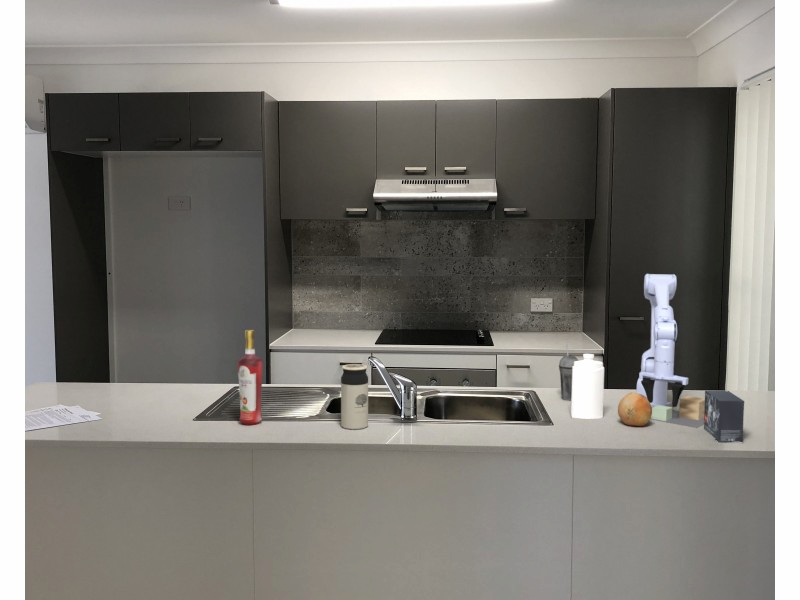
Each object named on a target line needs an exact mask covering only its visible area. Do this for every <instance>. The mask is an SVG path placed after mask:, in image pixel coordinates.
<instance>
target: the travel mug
mask: <svg viewBox="0 0 800 600" xmlns="http://www.w3.org/2000/svg"><path fill="white" fill-rule="evenodd" d="M341 369H342V372H343V373H342V375H341V377H340V379H341V380H340V426H341V427H342V428H344V429H347V430H362V429H363V430H364V429H366V428H367V427H368V426H369V375H368V374H367V369H368V366H367V365H366V364H362V363H361V364H360V363H359V364H358V363H351V364H345V365H342V367H341Z"/></svg>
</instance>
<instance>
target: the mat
mask: <svg viewBox="0 0 800 600" xmlns="http://www.w3.org/2000/svg"><path fill="white" fill-rule="evenodd" d="M649 421H654V422H655V421H657V422H662V423H665V424H666V423H668V424H673V425H677V426H684V427H689V428H695V429H698V428H701V427H702V426H704V418H702V419H700V420H695V419H689V418H683V417H679V410H676V409H675V410H674V409H672V419H670V420H668V421H662V420H657V419H652V416H651V418H650V420H649Z"/></svg>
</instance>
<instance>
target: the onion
mask: <svg viewBox="0 0 800 600" xmlns="http://www.w3.org/2000/svg"><path fill="white" fill-rule="evenodd" d="M652 407H653V406H652V405H651V404H650V402H649V401H648V399H647V398H646V397H645V396H644V395H642V394H639V393H637V392H629V393H627V394H626V395H624V396H623V397H622V398H621V399H620V400H619V403H618V406H617V415H618V417H619V418H620V420H621V421H622V423H624V424H625V425H626V426H631V427H632V426H633V427H644V426H646V425H647V424H648V423H649V421H651V420H650V418H651V417H652Z"/></svg>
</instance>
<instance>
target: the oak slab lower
mask: <svg viewBox="0 0 800 600" xmlns="http://www.w3.org/2000/svg"><path fill="white" fill-rule="evenodd" d="M678 408H679V407H678ZM678 411H679V417H683V418H689V419H695V420H700V419H702V418H704V409H702V410H700V411H695V410H689V409H683V408H679V409H678Z"/></svg>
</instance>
